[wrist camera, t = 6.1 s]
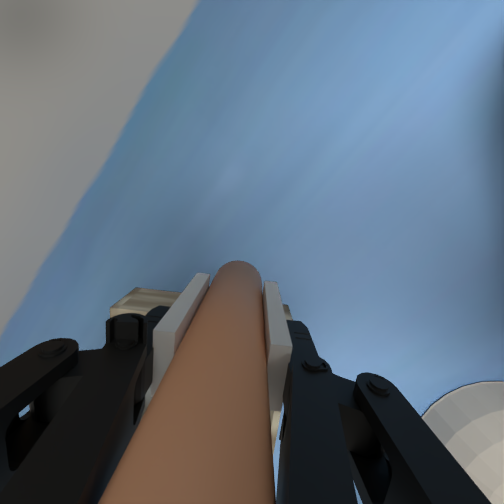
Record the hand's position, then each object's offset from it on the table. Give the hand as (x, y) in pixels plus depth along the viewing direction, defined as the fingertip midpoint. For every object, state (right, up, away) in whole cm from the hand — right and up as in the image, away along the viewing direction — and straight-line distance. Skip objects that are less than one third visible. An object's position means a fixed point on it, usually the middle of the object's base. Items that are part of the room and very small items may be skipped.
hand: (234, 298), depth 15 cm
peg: (0, +1, +3) cm, 3 cm away
